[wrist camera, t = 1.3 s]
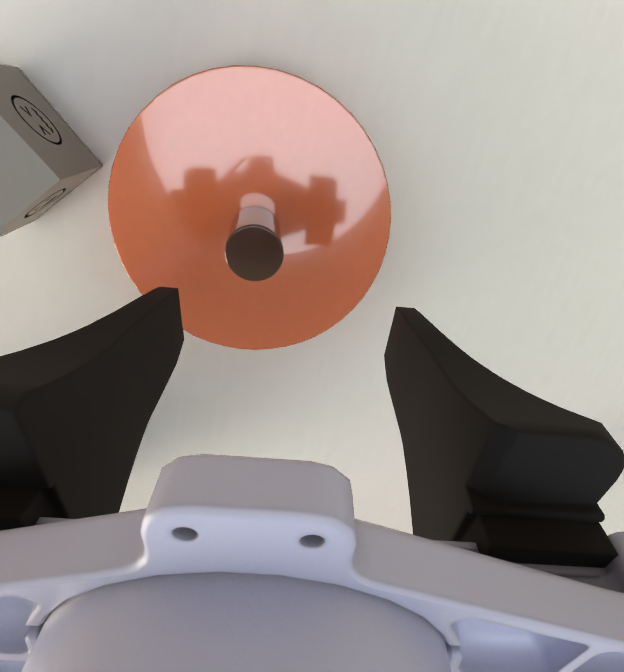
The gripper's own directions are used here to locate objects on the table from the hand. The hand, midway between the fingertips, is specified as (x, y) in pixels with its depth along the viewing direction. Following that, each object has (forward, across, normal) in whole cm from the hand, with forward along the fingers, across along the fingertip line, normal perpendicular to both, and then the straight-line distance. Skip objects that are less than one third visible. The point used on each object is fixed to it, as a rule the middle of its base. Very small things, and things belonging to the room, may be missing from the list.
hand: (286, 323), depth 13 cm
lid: (+8, +2, 0) cm, 8 cm away
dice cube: (+11, +14, -2) cm, 18 cm away
